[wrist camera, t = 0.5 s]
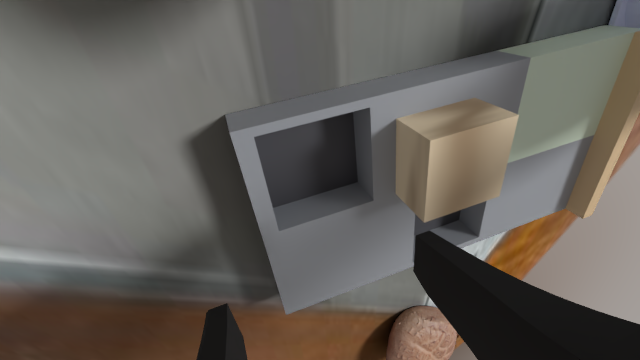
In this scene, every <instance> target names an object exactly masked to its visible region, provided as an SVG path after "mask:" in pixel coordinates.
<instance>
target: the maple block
mask: <svg viewBox="0 0 640 360" xmlns="http://www.w3.org/2000/svg"><path fill="white" fill-rule="evenodd" d="M518 117H519V115H518V114H516V113H513V112H510V111H508V110H505V109H503V108H500V107H498V106H495V105H493V104H490V103H487V102H485V101H482V100H480V99H477V98H471V99H468V100H464V101H460V102H457V103H453V104H449V105H445V106H442V107H438V108H434V109H431V110H427V111H423V112H419V113H416V114H412V115H408V116H404V117H401V118H397V119H396V195H397V196H398V197H399V198H400V199H401V200H402V201H403V202H404V203H405V204H406V205H407V206H408V207H409V208H410V209H411V210H412V211H413V212H414V213H415V214H416V215H417V216H418V217H419V218H420V219H421V220H422V221H423V222H424V223H425V222H428V221H431V220H433V219H436V218H439V217H442V216H445V215H448V214H450V213H453V212H456V211H459V210H462V209H465V208H468V207H470V206H473V205H476V204H479V203H482V202H485V201H487V200H490V199H493V198H496V197H499V196H500V192H501V188H502V184H503V180H504V175H505V171H506V167H507V163H508V159H509V155H510V150H511V146H512V142H513V138H514V134H515V130H516V125H517V121H518Z"/></svg>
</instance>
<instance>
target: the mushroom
mask: <svg viewBox="0 0 640 360" xmlns="http://www.w3.org/2000/svg"><path fill="white" fill-rule="evenodd" d="M456 334H457V333H456V330H455V329H454V328H453V326H452V325H451V324H450V323H449V321H448V320H447V319H446V318H445V316H444V315H443V314H442V313H441V311H440V310H439V309H438V308H436V307H431V306H415V307H412V308H409V309H407V310H404V312H402V313H401V314H400V315H399V316H398V318H397V319H396V320H395V322H394V323H393V327H392V329H391V332H390V335H389V339H388V345H387V351H386V360H449V357H450V356H451V355H452V353H453V351H454V347H455V344H456V337H457V335H456Z"/></svg>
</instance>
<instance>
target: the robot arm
mask: <svg viewBox="0 0 640 360" xmlns="http://www.w3.org/2000/svg"><path fill="white" fill-rule="evenodd" d="M608 25H609V26H620V27H631V28H640V0H617V1H616V4H615V7H614V10H613V13H612V16H611V19H610V22H609V24H608ZM413 271H414V273H415V275H416V276H417V278H418V280H419V281H420V283H421V285H422V286H423V288H424V290H425V291H426V293H427V294H428V296H429V297H430V298H431V300H432V301H433V302H434V304H435V305H436V306H437V307H438V309H439V310H440V311H441V313H442V314H443V315H444V316H445V318H446V319H447V320H448V321H449V323H450V324H451V325H452V326H453V328H454V329H455V330H456V331H457V333H458V334H459V335H460V337H461V338H462V339H463V340H464V342H465V343H466V344H467V345H468V347H469V348H470V349H471V351H472V352H473V353H474V355H475V356H476V358H477V359H478V360H640V324H636V323H633V322H630V321H627V320H624V319H620V318H617V317H614V316H611V315H608V314H605V313H602V312H598V311H595V310H593V309H590V308H587V307H585V306H582V305H579V304H576V303H574V302H571V301H568V300H565V299H563V298H561V297H558V296H555V295H553V294H550V293H549V292H546V291H544V290H541V289H539V288H537V287H534V286H532V285H530V284H528V283H526V282H523V281H521V280H519V279H517V278H515V277H513V276H511V275H509V274H507V273H505V272H503V271H501V270H499V269H497V268H495V267H493V266H491V265H489V264H488V263H486V262H484V261H482V260H480V259H478V258H477V257H475V256H473V255H471V254H469V253H468V252H466V251H464V250H462V249H461V248H459V247H457V246H455V245H454V244H452V243H450V242H449V241H447V240H445V239H443V238H442V237H440V236H438V235H437V234H435V233H433V232H431V231H430V230H429V231H427V232H424V233H421V234H418V235H416V237H415V254H414V270H413ZM197 360H247V355H246V350H245V345H244V339H243V336H242V334H241V332H240V330H239V328H238V325H237V323H236V321H235V319H234V317H233V315H232V313H231V311H230V308H229V306H228V304H224V305H221V306H218V307H216V308H213V309H210V310H208V312H207V313H206V319H205V325H204V330H203V335H202V339H201V343H200V348H199V352H198V356H197Z"/></svg>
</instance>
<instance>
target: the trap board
mask: <svg viewBox="0 0 640 360" xmlns="http://www.w3.org/2000/svg"><path fill="white" fill-rule="evenodd" d="M471 98H477V99H480V100H482V101H485V102H487V103H490V104H493V105H495V106H498V107H500V108H503V109H505V110H508V111H510V112H513V113H516V114H518V115H519V117H518V121H517V125H516V130H515V134H514V138H513V142H512V146H511V150H510V155H509V159H508V163H507V167H506V171H505V175H504V180H503V184H502V188H501V192H500V196H499V197H496V198H493V199H490V200H487V201H485V202H482V203H479V204H476V205H473V206H470V207H468V208H465V209H462V210H459V211H456V212H453V213H450V214H448V215H445V216H442V217H439V218H436V219H433V220H431V221H428V222H425V223H424V222H423V221H422V220H421V219H420V218H419V217H418V216H417V215H416V214H415V213H414V212H413V211H412V210H411V209H410V208H409V207H408V206H407V205H406V204H405V203H404V202H403V201H402V200H401V199H400V198H399V197H398V196H397V195H396V119H397V118H401V117H404V116H408V115H412V114H416V113H419V112H423V111H427V110H431V109H434V108H438V107H442V106H445V105H449V104H453V103H457V102H460V101H464V100H468V99H471ZM639 112H640V28H631V27H620V26H609V25H603V26H599V27H594V28H590V29H586V30H582V31H577V32H573V33H569V34H565V35H561V36H556V37H552V38H548V39H544V40H539V41H535V42H531V43H527V44H522V45H518V46H514V47H510V48H505V49H501V50H497V51H493V52H488V53H484V54H480V55H476V56H472V57H467V58H463V59H459V60H455V61H450V62H446V63H442V64H438V65H433V66H429V67H425V68H421V69H416V70H412V71H408V72H404V73H399V74H395V75H391V76H387V77H382V78H378V79H374V80H370V81H366V82H361V83H357V84H353V85H349V86H344V87H340V88H336V89H332V90H327V91H323V92H319V93H315V94H310V95H306V96H302V97H298V98H293V99H289V100H285V101H281V102H276V103H272V104H268V105H264V106H260V107H255V108H251V109H247V110H243V111H238V112H234V113H230V114H226V115H225V116H226V120H227V125H228V129H229V133H230V136H231V139H232V142H233V146H234V149H235V152H236V155H237V158H238V162H239V165H240V168H241V171H242V174H243V178H244V181H245V184H246V187H247V190H248V194H249V197H250V200H251V203H252V207H253V210H254V213H255V216H256V219H257V223H258V226H259V229H260V232H261V235H262V239H263V242H264V245H265V248H266V251H267V255H268V258H269V261H270V264H271V267H272V271H273V274H274V277H275V280H276V284H277V287H278V290H279V293H280V296H281V300H282V303H283V306H284V309H285V312H286V315H287V314H290V313H292V312H295V311H298V310H300V309H303V308H305V307H308V306H311V305H313V304H316V303H319V302H321V301H324V300H326V299H329V298H332V297H334V296H337V295H339V294H342V293H345V292H347V291H350V290H353V289H355V288H358V287H360V286H363V285H366V284H368V283H371V282H374V281H376V280H379V279H381V278H384V277H387V276H389V275H392V274H395V273H397V272H400V271H402V270H405V269H408V268H410V267H413V266H414V254H415V237H416V235H418V234H421V233H424V232H427V231H429V230H430V231H431V232H433V233H435V234H437V235H438V236H440V237H442V238H443V239H445V240H447V241H449V242H450V243H452V244H454V245H455V246H457V247H459V248H463V247H465V246H468V245H471V244H473V243H476V242H478V241H481V240H484V239H486V238H489V237H492V236H494V235H497V234H499V233H502V232H505V231H507V230H510V229H512V228H515V227H518V226H520V225H523V224H526V223H528V222H531V221H533V220H536V219H539V218H541V217H544V216H547V215H549V214H552V213H554V212H557V211H560V210H562V209H565V208H566V209H567V210H569V211H571V212H572V213H574V214H576V215H577V216H579V217H581V218H582V219H583V218H586V217H588V216H591V215H592V214H593V212H594V210H595V207H596V205H597V203H598V201H599V198H600V197H601V194H602V192H603V190H604V188H605V186H606V184H607V181H608V179H609V177H610V175H611V173H612V171H613V169H614V166H615V164H616V162H617V160H618V158H619V156H620V153H621V151H622V149H623V147H624V145H625V143H626V140H627V138H628V136H629V134H630V132H631V130H632V127H633V125H634V123H635V121H636V119H637V117H638V115H639Z"/></svg>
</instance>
